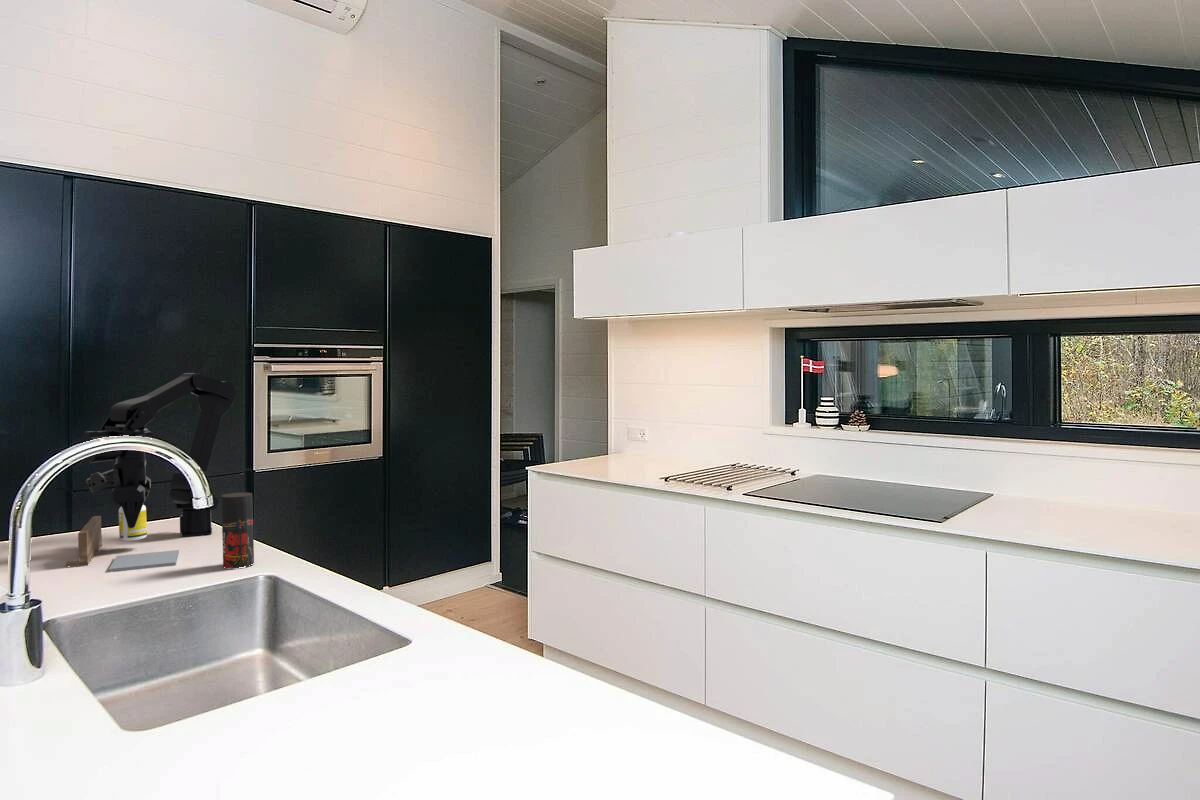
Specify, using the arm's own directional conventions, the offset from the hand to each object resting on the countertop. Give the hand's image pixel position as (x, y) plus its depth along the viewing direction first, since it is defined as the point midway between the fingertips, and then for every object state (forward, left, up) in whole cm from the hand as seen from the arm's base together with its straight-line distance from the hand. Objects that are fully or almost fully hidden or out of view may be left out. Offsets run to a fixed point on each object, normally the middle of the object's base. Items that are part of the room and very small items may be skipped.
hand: (133, 525), depth 175 cm
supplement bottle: (0, 0, -3) cm, 3 cm away
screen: (+9, +2, -6) cm, 11 cm away
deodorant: (-22, +26, -6) cm, 34 cm away
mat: (-4, +14, -6) cm, 15 cm away
